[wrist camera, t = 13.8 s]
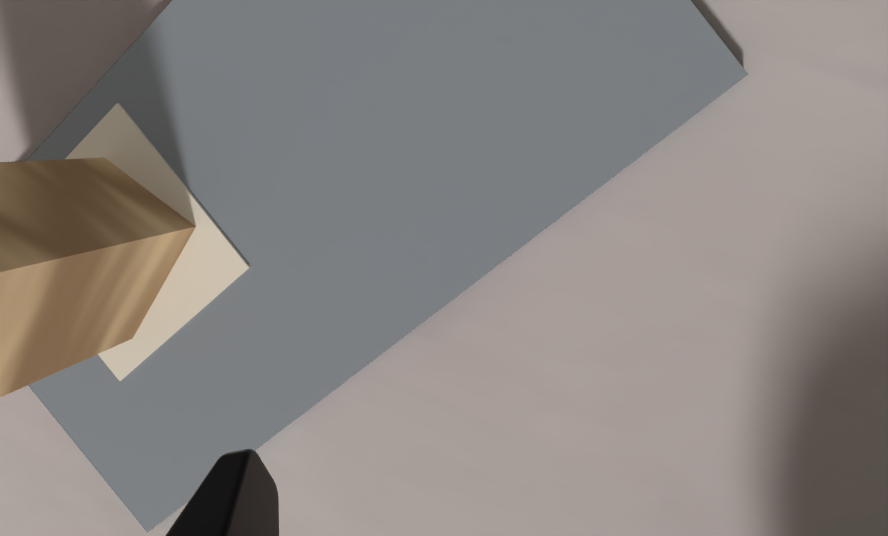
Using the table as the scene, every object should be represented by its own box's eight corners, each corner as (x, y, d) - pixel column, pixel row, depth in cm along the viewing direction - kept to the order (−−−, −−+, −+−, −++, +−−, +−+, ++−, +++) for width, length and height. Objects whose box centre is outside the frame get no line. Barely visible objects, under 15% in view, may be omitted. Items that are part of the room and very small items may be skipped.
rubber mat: (455, -296, 19) (451, -310, 18) (744, 75, 19) (749, 73, 18) (-57, 263, 26) (-72, 266, 26) (155, 525, 26) (145, 534, 26)
